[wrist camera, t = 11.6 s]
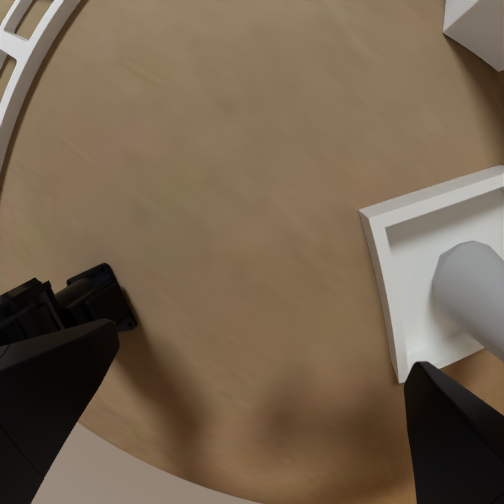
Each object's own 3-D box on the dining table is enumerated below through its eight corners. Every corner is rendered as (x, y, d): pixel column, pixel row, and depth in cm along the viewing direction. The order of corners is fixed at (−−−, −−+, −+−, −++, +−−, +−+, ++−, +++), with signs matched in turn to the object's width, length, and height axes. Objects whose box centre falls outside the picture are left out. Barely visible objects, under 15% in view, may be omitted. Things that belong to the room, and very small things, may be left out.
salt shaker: (493, 263, 16) (599, 348, 4) (451, 318, 18) (529, 436, 6) (455, 216, 16) (592, 289, 4) (408, 280, 18) (500, 413, 6)
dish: (390, 359, 21) (399, 383, 18) (358, 209, 18) (368, 218, 15) (508, 307, 17) (525, 324, 14) (498, 165, 15) (522, 167, 11)
